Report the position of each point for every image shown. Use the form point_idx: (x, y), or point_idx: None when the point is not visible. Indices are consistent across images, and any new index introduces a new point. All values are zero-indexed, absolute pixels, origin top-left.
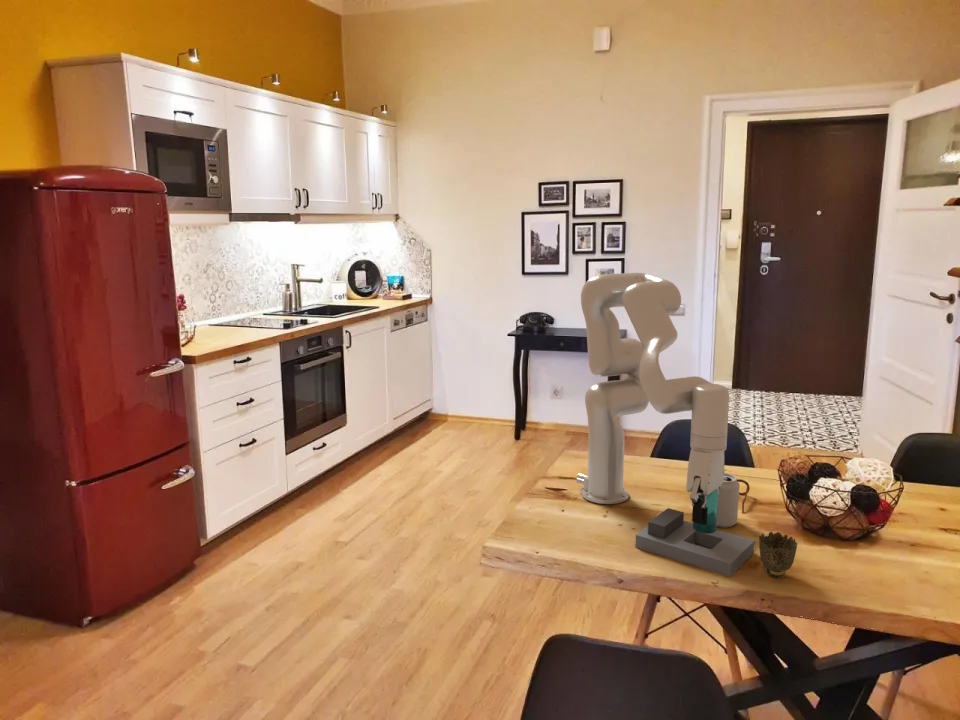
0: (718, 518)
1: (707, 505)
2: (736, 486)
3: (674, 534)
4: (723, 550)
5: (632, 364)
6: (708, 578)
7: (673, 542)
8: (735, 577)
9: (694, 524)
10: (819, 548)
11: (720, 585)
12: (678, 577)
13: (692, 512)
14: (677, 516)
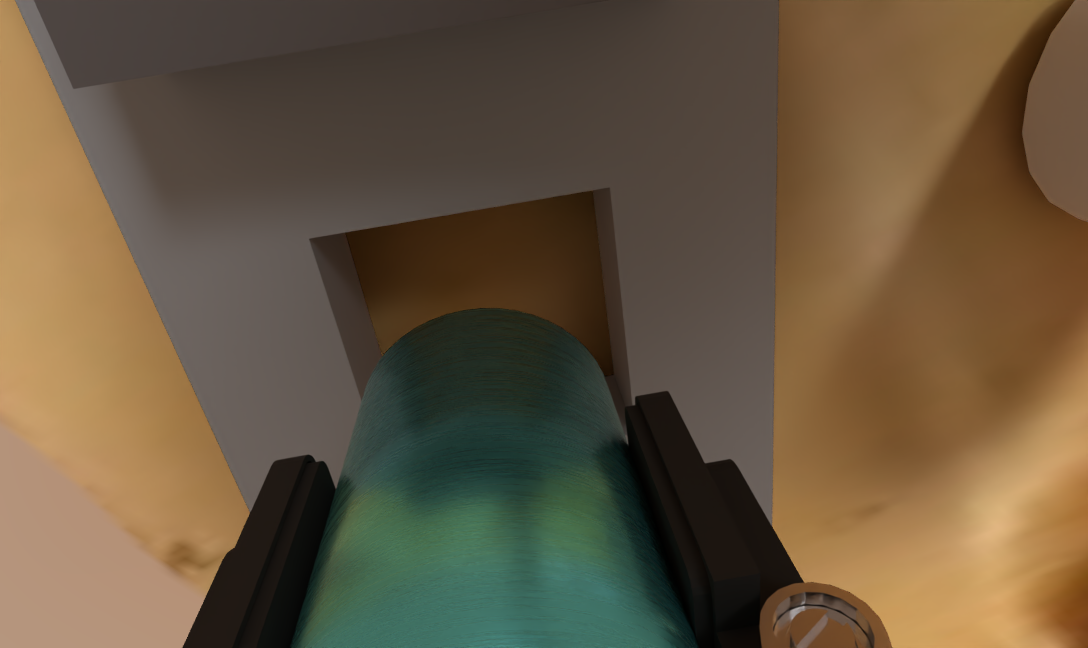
0: (1074, 145)
1: None
2: None
3: (359, 83)
4: None
5: None
6: (199, 513)
7: (194, 195)
8: None
9: (361, 408)
10: (1006, 643)
11: (198, 588)
12: (6, 401)
13: (233, 553)
14: (524, 4)
